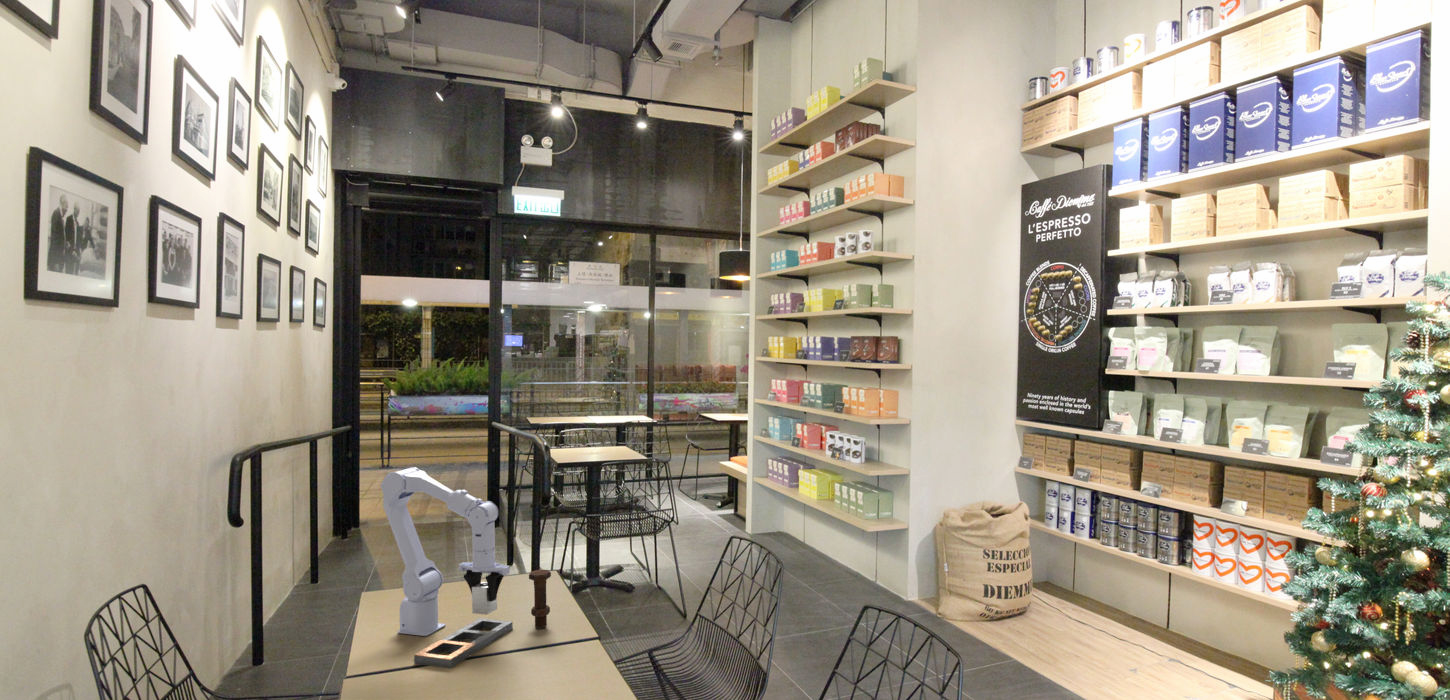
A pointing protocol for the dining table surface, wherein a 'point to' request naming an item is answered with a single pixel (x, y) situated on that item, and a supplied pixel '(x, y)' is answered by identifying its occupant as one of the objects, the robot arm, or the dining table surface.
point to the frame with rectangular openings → (462, 643)
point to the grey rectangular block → (482, 599)
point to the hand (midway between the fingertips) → (484, 599)
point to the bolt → (540, 597)
